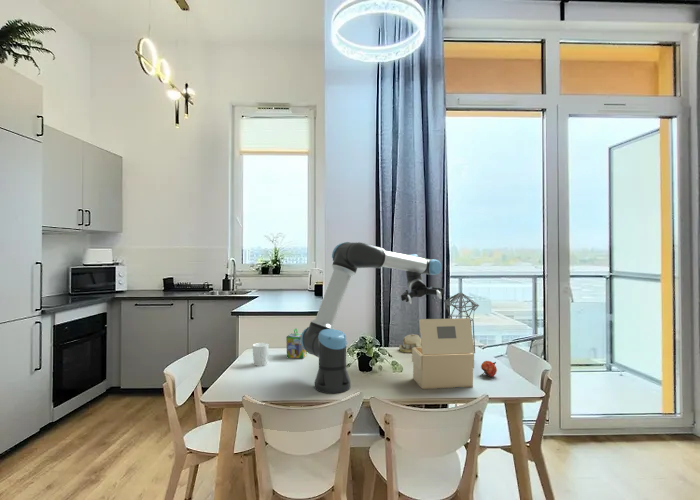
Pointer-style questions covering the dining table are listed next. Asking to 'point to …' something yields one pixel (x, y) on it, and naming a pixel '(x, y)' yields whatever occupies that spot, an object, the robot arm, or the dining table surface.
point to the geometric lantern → (462, 308)
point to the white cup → (260, 353)
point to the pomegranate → (489, 368)
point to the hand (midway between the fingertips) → (425, 298)
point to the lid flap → (446, 336)
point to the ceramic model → (410, 343)
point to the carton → (442, 369)
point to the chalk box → (295, 346)
